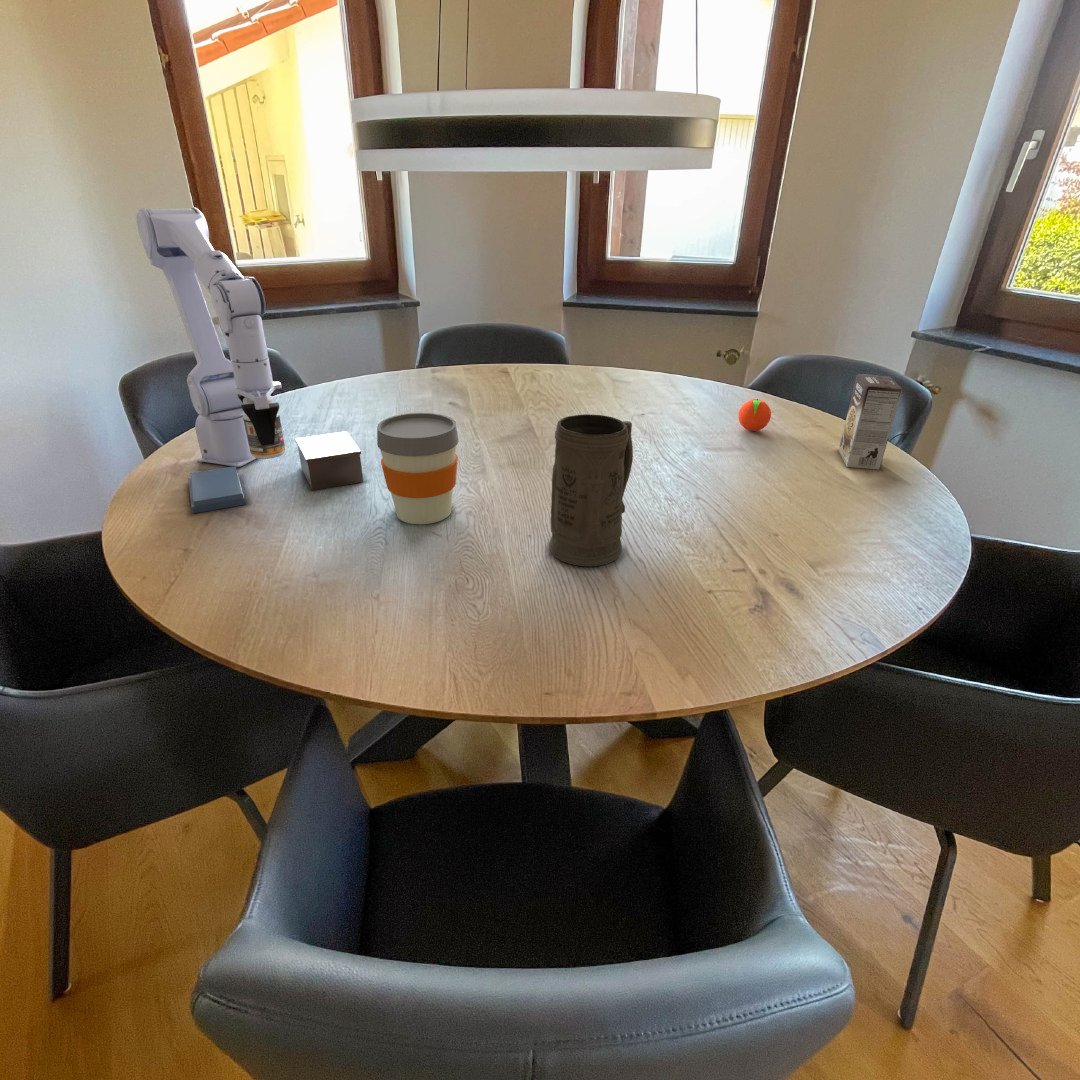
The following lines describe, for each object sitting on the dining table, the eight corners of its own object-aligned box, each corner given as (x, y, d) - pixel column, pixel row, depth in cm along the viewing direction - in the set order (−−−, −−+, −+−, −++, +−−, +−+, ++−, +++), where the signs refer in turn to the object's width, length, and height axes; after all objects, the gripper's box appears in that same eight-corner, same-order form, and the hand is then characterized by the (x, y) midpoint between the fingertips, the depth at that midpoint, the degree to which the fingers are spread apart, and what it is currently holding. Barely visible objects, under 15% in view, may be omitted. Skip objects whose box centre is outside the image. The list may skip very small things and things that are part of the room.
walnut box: (311, 491, 115) (305, 459, 112) (300, 468, 124) (295, 438, 121) (364, 482, 119) (360, 451, 116) (350, 460, 128) (346, 431, 125)
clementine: (767, 438, 142) (773, 406, 139) (734, 434, 144) (739, 403, 140) (768, 427, 149) (774, 396, 145) (737, 423, 151) (742, 393, 147)
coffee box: (836, 450, 136) (855, 373, 128) (870, 453, 135) (891, 375, 127) (845, 467, 128) (866, 385, 120) (880, 470, 127) (904, 387, 119)
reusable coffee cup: (439, 535, 102) (433, 443, 94) (370, 521, 105) (358, 432, 98) (474, 502, 112) (471, 417, 105) (409, 491, 116) (402, 408, 108)
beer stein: (598, 577, 91) (612, 438, 83) (533, 556, 96) (540, 422, 88) (643, 540, 103) (659, 414, 95) (583, 522, 108) (593, 402, 100)
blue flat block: (193, 513, 107) (190, 502, 106) (190, 484, 117) (187, 473, 116) (245, 504, 110) (243, 493, 109) (238, 476, 120) (236, 466, 119)
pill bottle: (274, 461, 111) (263, 404, 107) (244, 458, 112) (231, 401, 108) (292, 449, 116) (282, 394, 111) (263, 447, 117) (252, 392, 112)
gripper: (282, 366, 102) (296, 448, 109) (270, 347, 114) (283, 422, 120) (233, 371, 99) (251, 455, 106) (225, 350, 111) (242, 428, 117)
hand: (265, 438), depth 113 cm, fingers closed on pill bottle, 5 cm apart
